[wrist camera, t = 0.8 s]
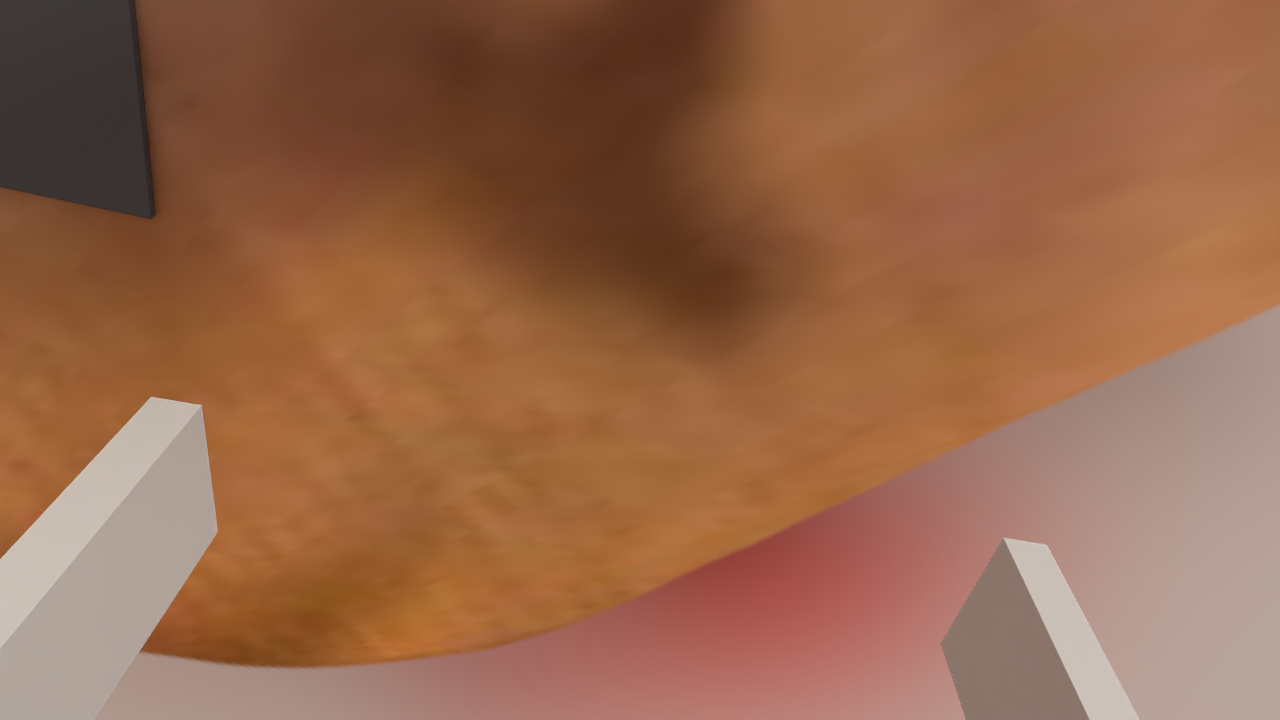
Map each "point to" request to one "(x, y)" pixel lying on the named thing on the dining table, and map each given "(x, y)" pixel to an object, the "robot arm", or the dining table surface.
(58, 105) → the mat
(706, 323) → the dining table surface
